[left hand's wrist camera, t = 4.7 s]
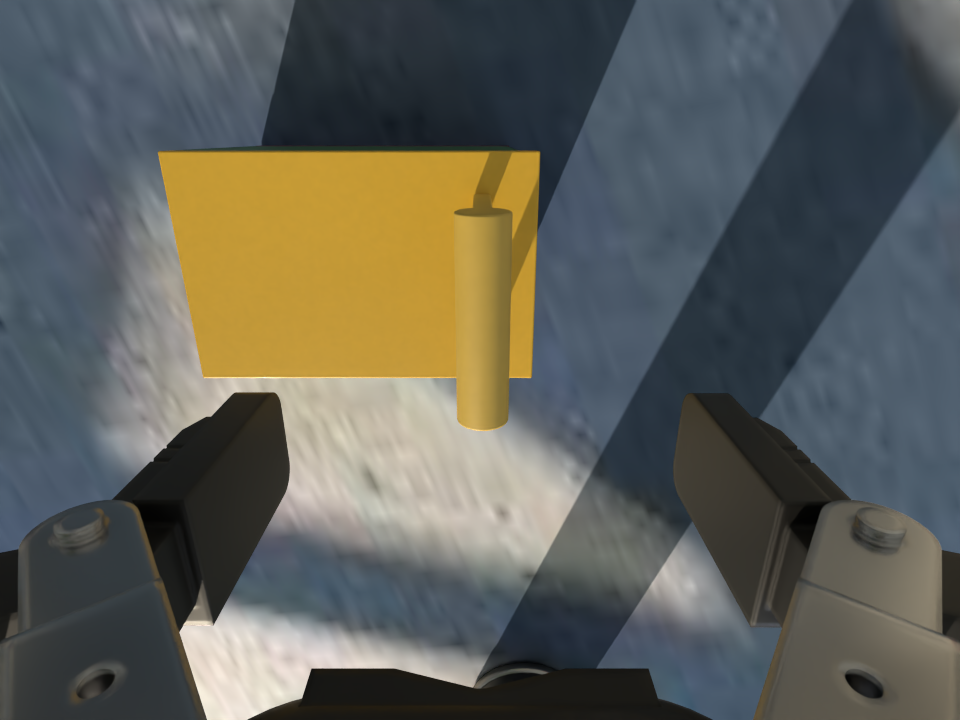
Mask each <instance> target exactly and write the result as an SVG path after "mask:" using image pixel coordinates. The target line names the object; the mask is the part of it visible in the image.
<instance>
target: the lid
mask: <svg viewBox="0 0 960 720" xmlns="http://www.w3.org/2000/svg"><path fill="white" fill-rule="evenodd" d="M158 155H159V160H160V165H161V170H162V174H163V179H164V184H165V189H166V194H167V199H168V204H169V209H170V214H171V219H172V224H173V229H174V234H175V239H176V244H177V249H178V254H179V259H180V264H181V269H182V274H183V279H184V284H185V289H186V294H187V299H188V304H189V309H190V314H191V318H192V323H193V328H194V333H195V338H196V343H197V348H198V353H199V358H200V363H201V368H202V373H203V377H204V378H457V419H458V422H459V423H460V424H461V425H462V426H464V427H466V428H468V429H472V430H477V431H488V430H494V429H498V428H500V427H502V426H504V425H505V424H506V422H507V421H508V407H509V378H531V377H532V358H533V331H534V305H535V278H536V252H537V225H538V199H539V173H540V151H159V152H158Z"/></svg>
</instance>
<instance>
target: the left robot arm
mask: <svg viewBox="0 0 960 720" xmlns="http://www.w3.org/2000/svg"><path fill="white" fill-rule="evenodd" d="M289 473H290V464H289V456H288V449H287V442H286V436H285V429H284V422H283V415H282V409H281V403H280V400H279V397H278V396H277V394H276V393H234V394H233V395H231V397H230V398H229V399H228V400H227V401H226V402H225V403H224V404H223V405H222V406H221V407H220V408H219V409H218V410H217V411H216V412H215V413H214V414H213V415H212V416H211V417H205V418H203V419H201V420H200V421H198V422H196V423H194V424H192V425H191V426H189V427H187V428H185V429H183V430H182V431H181V432H180V433H179V434H178V435H177V436H176V437H175V438H174V439H173V440H172V441H171V442H170V443H169V444H168V445H167V448H166V449H163V450H162V451H161V452H160V453H159V454H158V455H157V456H156V457H155V458H154V461H153V462H150V463H149V464H148V465H147V466H146V467H145V468H144V469H143V470H141V471H140V472H139V473H138V474H137V475H136V476H135V477H134V478H133V479H132V480H131V481H130V482H129V483H128V484H127V485H126V486H125V487H124V488H123V489H122V490H121V491H120V492H119V493H118V494H117V495H116V496H115V497H114V498H113V499H112V500H103V501H95V502H90V503H86V504H82V505H79V506H76V507H73V508H70V509H67V510H65V511H63V512H60V513H58V514H56V515H54V516H52V517H50V518H48V519H47V520H45V521H44V522H42V523H40V524H39V525H38V526H36V527H35V528H34V529H32V530H31V531H30V532H29V533H28V534H27V535H26V536H25V538H24V539H23V540H22V542H21V544H20V546H19V549H18V550H13V551H7V552H2V553H0V720H207V719H206V716H205V712H204V709H203V706H202V703H201V700H200V697H199V693H198V690H197V687H196V684H195V681H194V678H193V675H192V671H191V668H190V665H189V662H188V659H187V656H186V652H185V649H184V646H183V643H182V640H181V637H180V634H179V632H180V630H181V628H182V627H183V625H214V623H215V621H216V620H217V618H218V616H219V614H220V612H221V610H222V609H223V607H224V605H225V603H226V601H227V599H228V598H229V596H230V594H231V592H232V590H233V588H234V587H235V585H236V583H237V581H238V579H239V577H240V575H241V574H242V572H243V570H244V568H245V566H246V564H247V563H248V561H249V559H250V557H251V555H252V553H253V552H254V550H255V548H256V546H257V544H258V542H259V541H260V539H261V537H262V535H263V533H264V531H265V529H266V528H267V526H268V524H269V522H270V520H271V518H272V517H273V515H274V513H275V511H276V509H277V507H278V506H279V504H280V502H281V500H282V498H283V496H284V494H285V492H286V490H287V486H288V482H289ZM673 475H674V483H675V487H676V491H677V493H678V496H679V497H680V499H681V501H682V503H683V505H684V507H685V508H686V510H687V512H688V514H689V516H690V517H691V519H692V521H693V523H694V525H695V527H696V528H697V530H698V532H699V534H700V536H701V537H702V539H703V541H704V543H705V545H706V547H707V548H708V550H709V552H710V554H711V556H712V557H713V559H714V561H715V563H716V565H717V566H718V568H719V570H720V572H721V574H722V576H723V577H724V579H725V581H726V583H727V585H728V586H729V588H730V590H731V592H732V594H733V596H734V597H735V599H736V601H737V603H738V605H739V606H740V608H741V610H742V612H743V614H744V616H745V617H746V619H747V621H748V623H749V625H750V626H751V627H782V630H781V634H780V637H779V640H778V643H777V646H776V649H775V652H774V656H773V659H772V662H771V665H770V668H769V671H768V675H767V678H766V681H765V684H764V687H763V690H762V693H761V697H760V700H759V703H758V706H757V709H756V712H755V716H754V719H753V720H960V554H959V553H954V552H948V551H944V550H941V546H940V544H939V542H938V540H937V539H936V538H935V536H934V535H933V534H932V533H931V532H930V531H929V530H928V529H926V528H925V527H924V526H922V525H921V524H920V523H918V522H916V521H915V520H913V519H912V518H910V517H908V516H906V515H904V514H902V513H900V512H897V511H895V510H893V509H890V508H887V507H884V506H881V505H878V504H874V503H870V502H865V501H857V500H851V499H850V498H849V497H848V496H847V495H846V494H845V493H844V492H843V491H842V490H841V489H840V488H839V487H838V486H837V485H836V484H835V483H834V482H833V481H832V480H831V479H830V478H829V477H828V476H827V475H826V474H825V473H824V472H823V471H822V470H821V469H820V468H819V467H818V466H816V465H815V464H814V463H811V462H810V459H809V458H808V457H807V456H806V455H805V454H804V453H803V452H802V451H801V450H797V446H796V445H795V444H794V443H793V442H792V441H791V440H790V439H789V438H788V437H787V436H786V435H785V434H784V433H783V432H782V431H780V430H779V429H777V428H775V427H773V426H771V425H769V424H768V423H766V422H764V421H762V420H760V419H759V418H752V417H751V416H750V415H749V414H748V413H747V411H746V410H745V409H744V408H743V407H742V406H741V405H740V404H739V403H738V402H737V401H736V400H735V399H734V398H733V397H732V396H731V395H730V394H728V393H689V394H687V395H686V397H685V398H684V401H683V404H682V410H681V416H680V423H679V430H678V436H677V443H676V450H675V456H674V464H673ZM248 720H712V719H710V718H708V717H706V716H704V715H702V714H699V713H697V712H695V711H693V710H691V709H688V708H686V707H683V706H680V705H677V704H674V703H672V702H669V701H665V700H661V699H658V698H657V694H656V691H655V688H654V685H653V682H652V679H651V675H650V672H649V669H562V670H558V671H556V670H554V669H552V668H549V667H547V666H544V665H540V664H534V663H514V664H508V665H504V666H501V667H498V668H496V669H494V670H492V671H490V672H488V673H487V674H485V675H484V676H483V677H482V678H481V679H480V680H479V681H478V682H477V683H476V684H475V686H474V688H471V687H467V686H463V685H459V684H455V683H451V682H447V681H442V680H438V679H434V678H430V677H426V676H422V675H418V674H414V673H410V672H406V671H402V670H398V669H311V672H310V675H309V679H308V682H307V685H306V688H305V691H304V694H303V698H302V699H299V700H295V701H291V702H288V703H286V704H283V705H280V706H277V707H274V708H272V709H269V710H267V711H265V712H263V713H261V714H258V715H256V716H254V717H252V718H250V719H248Z"/></svg>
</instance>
